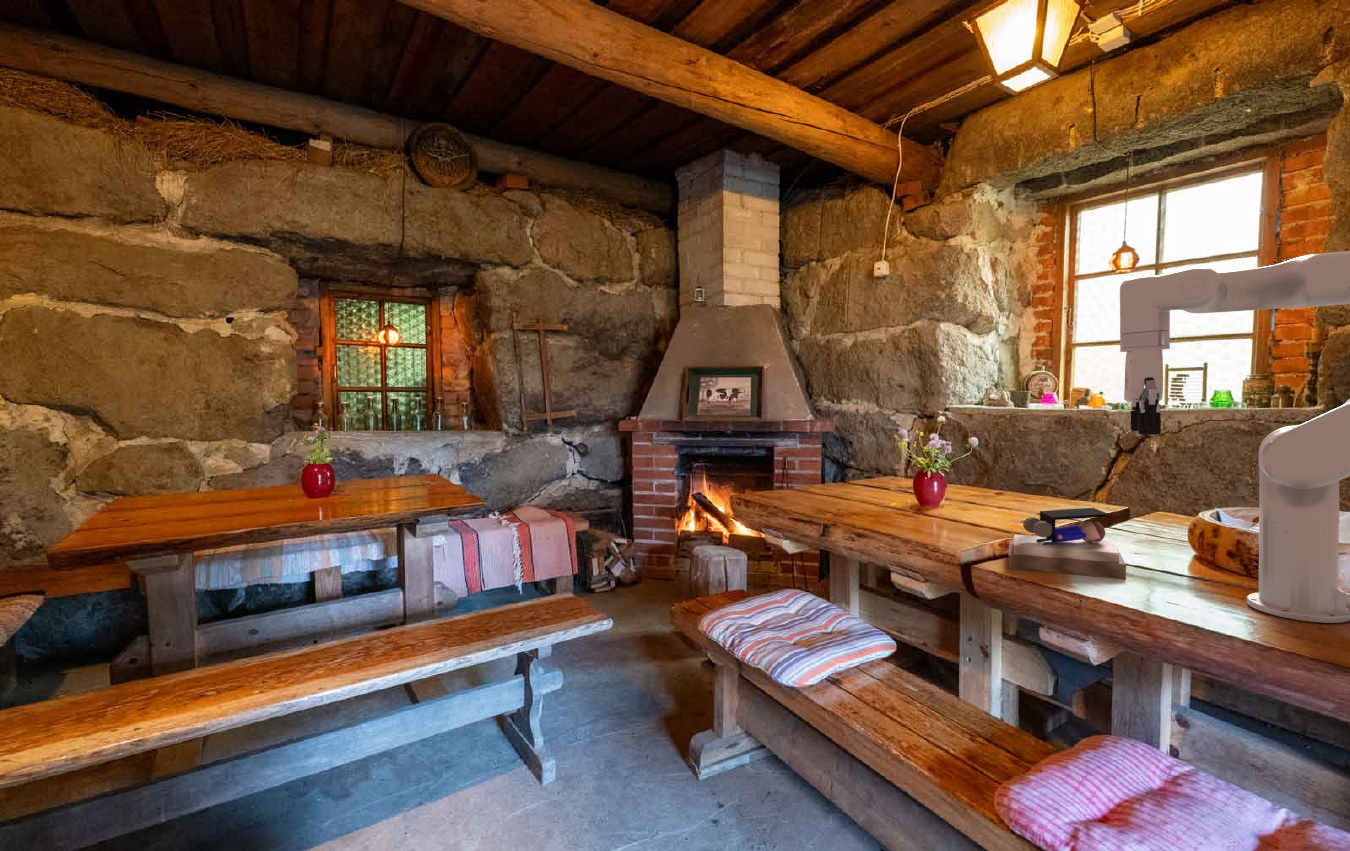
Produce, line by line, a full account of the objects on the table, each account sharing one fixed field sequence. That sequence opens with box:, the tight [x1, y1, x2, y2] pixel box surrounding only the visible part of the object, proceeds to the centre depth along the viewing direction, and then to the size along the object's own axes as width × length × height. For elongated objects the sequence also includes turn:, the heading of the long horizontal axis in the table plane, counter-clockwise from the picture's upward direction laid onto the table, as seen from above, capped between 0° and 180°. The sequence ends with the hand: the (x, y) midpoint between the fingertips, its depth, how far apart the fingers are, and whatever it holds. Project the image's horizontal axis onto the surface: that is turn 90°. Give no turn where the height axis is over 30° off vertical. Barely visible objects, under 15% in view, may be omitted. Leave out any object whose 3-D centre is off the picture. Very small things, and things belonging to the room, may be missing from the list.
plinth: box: [1008, 534, 1127, 580], centre depth 136 cm, size 21×13×5 cm, turn 60°
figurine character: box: [1022, 507, 1110, 545], centre depth 136 cm, size 7×8×15 cm
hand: (1145, 432), depth 118 cm, fingers open, 9 cm apart
